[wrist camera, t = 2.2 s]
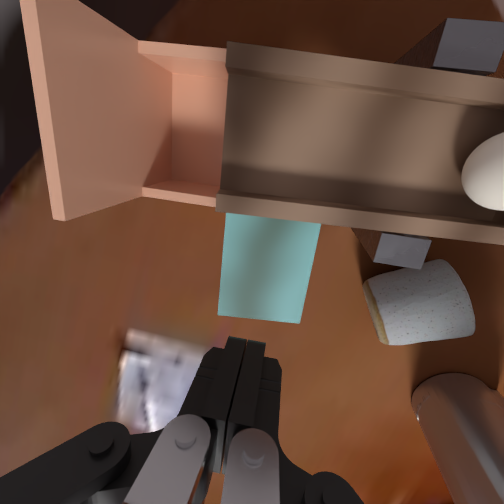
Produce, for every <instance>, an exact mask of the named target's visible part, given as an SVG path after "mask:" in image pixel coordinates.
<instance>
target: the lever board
mask: <svg viewBox="0 0 504 504" xmlns="http://www.w3.org/2000/svg"><path fill="white" fill-rule="evenodd" d="M225 67H226V70H227V72H228V85H227V99H226V113H225V126H224V140H223V154H222V167H221V181H220V190H219V191H218V192H217V194H216V208H215V212H224V213H226V222H225V234H224V246H223V258H222V270H221V281H220V293H219V305H218V315H223V316H233V317H242V318H252V319H261V320H271V321H280V322H290V323H300V319H301V315H302V310H303V305H304V301H305V296H306V291H307V287H308V282H309V278H310V273H311V268H312V264H313V259H314V254H315V250H316V245H317V241H318V236H319V231H320V227H321V224H327V225H335V226H344V227H353V228H361V229H370V230H378V231H387V232H395V233H404V234H413V235H421V236H430V237H438V238H447V239H455V240H464V241H472V242H481V243H490V244H498V245H504V211H502V210H493V209H488V208H486V207H483V206H481V205H479V204H477V203H475V202H474V201H473V200H472V199H470V198H469V196H468V195H467V194H466V192H465V191H464V188H463V185H462V180H461V176H462V169H463V166H464V164H465V162H466V160H467V158H468V157H469V155H470V154H471V153H472V152H473V151H474V150H475V149H476V148H477V147H478V146H479V145H480V144H482V143H483V142H484V141H486V140H488V139H489V138H491V137H493V136H495V135H498V134H501V133H503V132H504V79H501V78H493V77H486V76H479V75H472V74H464V73H457V72H450V71H442V70H435V69H428V68H420V67H413V66H406V65H399V64H391V63H384V62H377V61H369V60H362V59H355V58H347V57H340V56H333V55H326V54H318V53H311V52H304V51H296V50H289V49H282V48H274V47H267V46H260V45H252V44H245V43H238V42H231V41H227V48H226V63H225Z"/></svg>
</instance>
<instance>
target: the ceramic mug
mask: <svg viewBox="0 0 504 504" xmlns="http://www.w3.org/2000/svg"><path fill="white" fill-rule="evenodd" d="M363 291H364V295H365V298H366V301H367V305H368V308H369V311H370V315H371V318H372V321H373V324H374V327H375V330H376V333H377V336H378V338H379V340H380V341H381V342H382V343H384V344H387V345H406V344H413V343H419V342H426V341H436V340H444V339H452V338H460V337H467V336H471V335H473V333H474V331H475V316H474V312H473V308H472V304H471V300H470V297H469V294H468V292H467V290H466V288H465V286H464V285H463V283H462V281H461V279H460V277H459V275H458V274H457V273H456V271H455V270H454V269H453V267H452V266H451V265H450V264H449V263H448V262H446V261H445V260H442V259H436V260H433V261H429V262H425V263H423V265H422V268H421V270H420V269H414V268H408V267H407V268H403V269H399V270H396V271H392V272H388V273H383V274H380V275H377V276H374V277H372V278H369V279H368V280H366V281H365V282H364V284H363Z"/></svg>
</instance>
